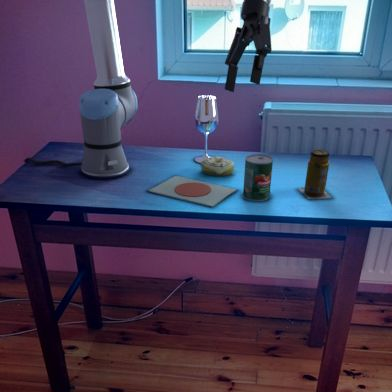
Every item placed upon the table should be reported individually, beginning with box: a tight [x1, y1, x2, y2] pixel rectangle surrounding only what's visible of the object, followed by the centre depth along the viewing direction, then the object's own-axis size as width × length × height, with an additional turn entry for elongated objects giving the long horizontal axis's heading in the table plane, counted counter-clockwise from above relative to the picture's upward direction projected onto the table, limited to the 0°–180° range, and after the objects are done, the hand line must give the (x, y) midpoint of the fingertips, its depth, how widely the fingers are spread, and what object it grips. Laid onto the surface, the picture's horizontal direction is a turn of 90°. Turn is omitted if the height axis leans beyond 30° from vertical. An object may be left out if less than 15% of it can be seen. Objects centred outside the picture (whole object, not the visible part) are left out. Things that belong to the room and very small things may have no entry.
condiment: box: [298, 149, 332, 200], centre depth 155 cm, size 7×8×12 cm
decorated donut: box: [200, 156, 236, 177], centre depth 172 cm, size 10×11×4 cm
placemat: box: [147, 175, 238, 208], centre depth 160 cm, size 22×15×1 cm
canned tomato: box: [242, 153, 274, 202], centre depth 154 cm, size 8×8×11 cm
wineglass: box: [194, 94, 219, 164], centre depth 176 cm, size 8×8×20 cm
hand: (241, 87), depth 148 cm, fingers open, 13 cm apart
